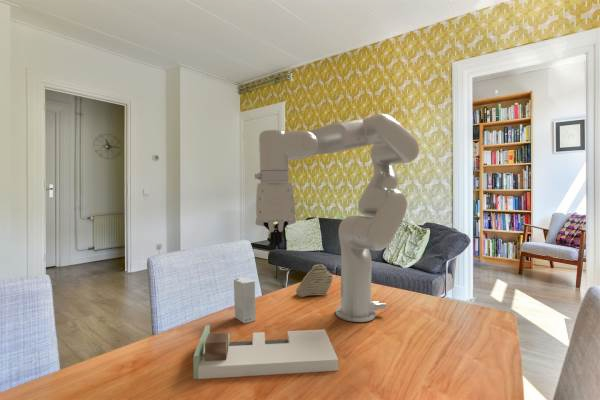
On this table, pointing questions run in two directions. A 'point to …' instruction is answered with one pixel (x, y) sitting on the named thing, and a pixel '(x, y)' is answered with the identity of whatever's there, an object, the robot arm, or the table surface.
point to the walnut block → (216, 347)
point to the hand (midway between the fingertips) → (276, 245)
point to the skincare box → (244, 299)
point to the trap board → (268, 356)
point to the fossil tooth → (315, 282)
